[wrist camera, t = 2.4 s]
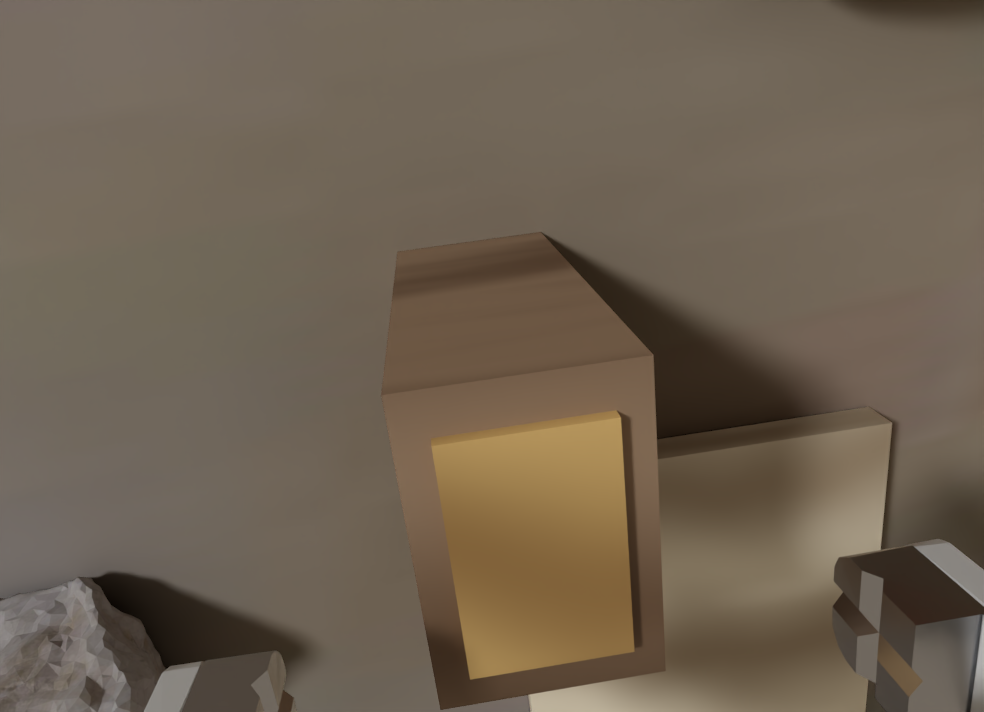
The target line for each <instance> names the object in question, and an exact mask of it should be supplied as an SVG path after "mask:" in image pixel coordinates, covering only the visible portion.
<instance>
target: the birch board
mask: <svg viewBox="0 0 984 712" xmlns="http://www.w3.org/2000/svg"><path fill="white" fill-rule="evenodd" d="M891 431H892V422H890V421H889V420H887V419H886V418H884V417H883V416H881V415H880V414H879V413H877V412H876V411H874V410H873V409H871V408H870V407H864V408H857V409H851V410H844V411H838V412H831V413H825V414H818V415H812V416H806V417H799V418H793V419H786V420H780V421H773V422H767V423H760V424H754V425H747V426H741V427H734V428H728V429H721V430H715V431H708V432H702V433H695V434H689V435H682V436H676V437H670V438H663V439H657V457H658V483H659V509H660V535H661V561H662V587H663V613H664V639H665V666H666V671H663V672H658V673H652V674H646V675H640V676H634V677H629V678H623V679H617V680H611V681H605V682H600V683H594V684H588V685H582V686H576V687H571V688H565V689H559V690H553V691H547V692H542V693H536V694H530V695H528V697H529V705H530V712H865V710H866V700H867V689H868V679H866V678H864V677H862V676H860V675H858V674H856V673H855V672H854V670H853V669H852V668H851V666H850V665H849V664H848V662H847V661H846V660H845V658H844V656H843V654H842V652H841V650H840V648H839V646H838V644H837V640H836V637H835V633H834V630H833V626H832V606H833V605H834V604H835V602H836V601H837V600H838V598H839V597H840V595H841V594H842V593H843V591H842V590H841V589H840V588H839V587H838V585H837V584H836V583H835V582H834V566H835V564H836V562H837V560H838V558H839V557H843V556H849V555H855V554H861V553H866V552H872V551H878V550H880V549H881V539H882V528H883V517H884V507H885V496H886V485H887V474H888V464H889V453H890V442H891Z"/></svg>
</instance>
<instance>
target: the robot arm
mask: <svg viewBox="0 0 984 712" xmlns="http://www.w3.org/2000/svg"><path fill="white" fill-rule="evenodd" d="M834 582H835V583H836V584H837V585H838V587H839V588H840V589H841V590H842V591H843V593H842V594H841V595H840V597H839V598H838V600H837V601H836V602H835V604H834V605H833V606H832V626H833V630H834V633H835V637H836V640H837V644H838V646H839V648H840V650H841V652H842V654H843V656H844V658H845V660H846V661H847V662H848V664H849V665H850V666H851V668H852V669H853V670H854V672H855V673H856V674H858V675H860V676H862V677H864V678H866V679H868V680H870V681H872V682H874V683H876V687H875V698H876V700H877V701H878V702H879V703H880V705H881V706H882V707H883V708H884V710H885V711H886V712H984V570H983V569H982V568H981V567H980V566H978V565H977V564H976V563H974V562H973V561H972V560H971V559H969V558H968V557H967V556H966V555H964V554H963V553H962V552H961V551H959V550H958V549H957V548H956V547H954V546H953V545H952V544H951V543H949V542H947V541H944V540H941V539H933V540H928V541H923V542H917V543H912V544H907V545H905V546H902V547H895V548H890V549H884V550H878V551H872V552H866V553H861V554H855V555H849V556H843V557H839V558H838V560H837V562H836V564H835V566H834ZM286 675H287V671H286V668H285V665H284V662H283V658H282V655H281V654H280V653H279V652H278V651H276V650H274V651H267V652H260V653H253V654H246V655H239V656H232V657H225V658H218V659H211V660H206V661H200V662H194V663H187V664H181V665H174V666H170V667H169V668H167V669H166V670H165V671H164V672H163V673H162V674H161V676H160V678H159V680H158V682H157V684H156V687H155V689H154V691H153V693H152V695H151V697H150V699H149V702H148V704H147V706H146V708H145V710H144V712H297V709H296V705H295V701H294V698H293V697H292V696H291V695H289V694H288V693H287V692H285V691H284V690H283V688H284V683H285V679H286Z"/></svg>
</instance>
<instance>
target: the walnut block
mask: <svg viewBox="0 0 984 712" xmlns="http://www.w3.org/2000/svg"><path fill="white" fill-rule="evenodd" d="M381 396H382V402H383V407H384V412H385V418H386V423H387V428H388V434H389V439H390V444H391V449H392V455H393V460H394V465H395V471H396V476H397V481H398V487H399V492H400V497H401V503H402V508H403V513H404V518H405V524H406V529H407V534H408V540H409V545H410V550H411V556H412V561H413V566H414V571H415V577H416V582H417V587H418V593H419V598H420V603H421V609H422V614H423V619H424V624H425V630H426V635H427V640H428V646H429V651H430V656H431V662H432V667H433V672H434V677H435V683H436V688H437V693H438V699H439V704H440V709H441V710H443V709H449V708H455V707H460V706H466V705H472V704H478V703H484V702H489V701H495V700H501V699H507V698H513V697H518V696H524V695H530V694H536V693H542V692H547V691H553V690H559V689H565V688H571V687H576V686H582V685H588V684H594V683H600V682H605V681H611V680H617V679H623V678H629V677H634V676H640V675H646V674H652V673H658V672H663V671H666V666H665V639H664V613H663V587H662V561H661V535H660V509H659V483H658V457H657V431H656V405H655V379H654V355H653V354H652V353H651V352H650V351H649V349H648V348H647V347H646V346H645V345H644V344H643V343H642V342H641V341H640V340H639V339H638V337H637V336H636V335H635V334H634V333H633V332H632V331H631V330H630V329H629V328H628V327H627V325H626V324H625V323H624V322H623V321H622V320H621V319H620V318H619V317H618V316H617V315H616V313H615V312H614V311H613V310H612V309H611V308H610V307H609V306H608V305H607V304H606V303H605V302H604V300H603V299H602V298H601V297H600V296H599V295H598V294H597V293H596V292H595V291H594V290H593V288H592V287H591V286H590V285H589V284H588V283H587V282H586V281H585V280H584V279H583V278H582V276H581V275H580V274H579V273H578V272H577V271H576V270H575V269H574V268H573V267H572V266H571V264H570V263H569V262H568V261H567V260H566V259H565V258H564V257H563V256H562V255H561V254H560V252H559V251H558V250H557V249H556V248H555V247H554V246H553V245H552V244H551V243H550V242H549V240H548V239H547V238H546V237H545V236H544V235H543V234H542V233H541V232H538V233H530V234H523V235H516V236H508V237H501V238H494V239H486V240H479V241H472V242H465V243H457V244H450V245H443V246H435V247H428V248H421V249H413V250H406V251H399V252H397V261H396V270H395V279H394V288H393V296H392V305H391V314H390V323H389V332H388V340H387V349H386V358H385V367H384V376H383V384H382V393H381Z"/></svg>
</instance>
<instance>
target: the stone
mask: <svg viewBox="0 0 984 712" xmlns="http://www.w3.org/2000/svg"><path fill="white" fill-rule="evenodd" d="M165 670H166V668H165V667H164V666H163V664H162V660H161V657H160V654H159V653H158V652H157V650H156V649H155V648H154V646H153V644H152V641H151V639H150V638H149V636H148V635H147V634H146V630H145V628H144V625H143V624H142V622H141V620H140V619H138V618H136V617H134V616H131V615H129V614H126V613H123V612H121V611H120V610H118V609H116V608H115V607H113V606H112V605H110V603H109V601H108V600H107V598H106V597H105V595H104V593H103V591H102V589H101V587H100V586H98V585H97V584H95V583H94V582H93V580H92V578H86V577H77V578H76V579H75V580H71V581H69V582H66V583H63V584H61V585H58V586H56V587H53V588H51V589H46V590H40V591H35V592H30V593H25V594H17V595H15V596H12V597H10V598H7V599H2V598H0V712H144V710H145V708H146V706H147V704H148V702H149V699H150V697H151V695H152V693H153V691H154V689H155V687H156V684H157V682H158V680H159V678H160V676H161V674H162V673H163V672H164V671H165Z"/></svg>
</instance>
